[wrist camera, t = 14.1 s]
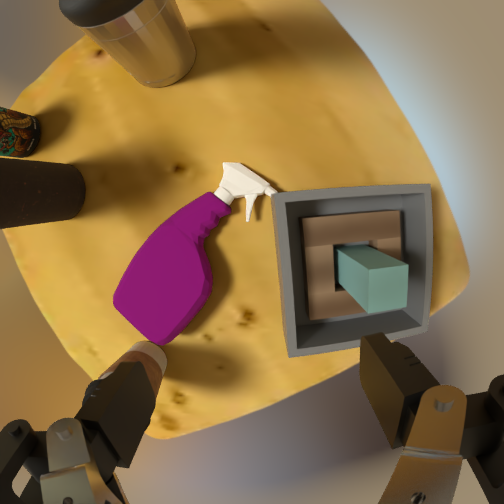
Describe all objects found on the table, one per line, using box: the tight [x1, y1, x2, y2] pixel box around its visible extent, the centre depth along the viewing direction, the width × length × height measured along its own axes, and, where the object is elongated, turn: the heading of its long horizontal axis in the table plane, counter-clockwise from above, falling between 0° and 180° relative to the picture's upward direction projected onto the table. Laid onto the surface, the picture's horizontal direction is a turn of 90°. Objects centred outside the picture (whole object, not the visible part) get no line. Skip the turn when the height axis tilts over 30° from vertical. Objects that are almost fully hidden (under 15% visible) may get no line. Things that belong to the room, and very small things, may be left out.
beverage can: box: [0, 107, 40, 158], centre depth 27 cm, size 7×7×12 cm
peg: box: [333, 244, 409, 314], centre depth 29 cm, size 4×4×12 cm
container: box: [0, 158, 85, 229], centre depth 25 cm, size 9×9×20 cm
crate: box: [271, 184, 433, 358], centre depth 33 cm, size 18×18×7 cm
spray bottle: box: [113, 162, 278, 345], centre depth 35 cm, size 3×11×24 cm
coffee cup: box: [82, 341, 167, 430], centre depth 32 cm, size 8×8×15 cm
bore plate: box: [298, 209, 401, 320], centre depth 34 cm, size 12×12×3 cm
